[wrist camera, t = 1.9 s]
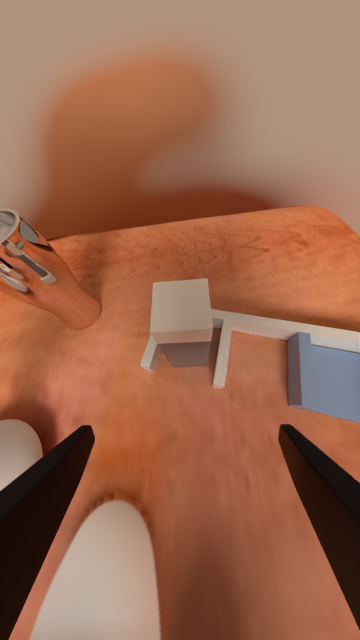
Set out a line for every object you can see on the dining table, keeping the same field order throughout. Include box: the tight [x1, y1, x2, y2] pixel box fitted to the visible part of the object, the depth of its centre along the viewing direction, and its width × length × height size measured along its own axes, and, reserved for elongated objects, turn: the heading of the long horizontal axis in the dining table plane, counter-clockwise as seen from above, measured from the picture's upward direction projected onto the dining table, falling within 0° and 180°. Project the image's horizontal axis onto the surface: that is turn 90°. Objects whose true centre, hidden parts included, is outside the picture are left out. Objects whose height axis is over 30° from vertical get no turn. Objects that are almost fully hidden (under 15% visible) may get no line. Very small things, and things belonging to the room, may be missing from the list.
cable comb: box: [140, 309, 360, 423], centre depth 21 cm, size 27×9×3 cm, turn 76°
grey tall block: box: [150, 278, 213, 367], centre depth 19 cm, size 4×4×12 cm
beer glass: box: [0, 209, 101, 330], centre depth 22 cm, size 7×7×15 cm
